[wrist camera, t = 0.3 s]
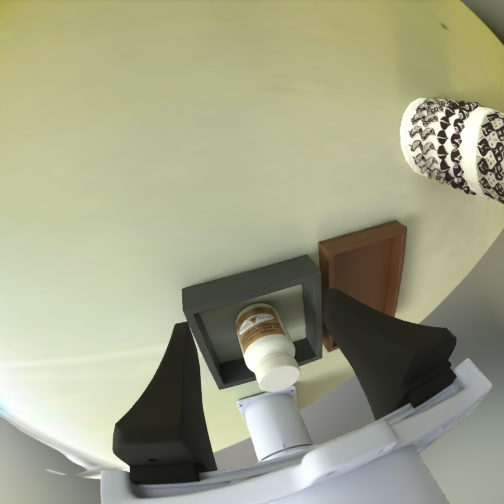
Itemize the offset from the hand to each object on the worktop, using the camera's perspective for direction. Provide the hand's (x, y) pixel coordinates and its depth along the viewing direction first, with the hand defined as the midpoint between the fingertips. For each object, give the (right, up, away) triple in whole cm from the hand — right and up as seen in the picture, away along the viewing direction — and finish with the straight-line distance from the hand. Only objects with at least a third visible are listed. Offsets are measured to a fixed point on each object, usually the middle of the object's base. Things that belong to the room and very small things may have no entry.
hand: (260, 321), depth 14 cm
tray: (+11, 0, +14) cm, 18 cm away
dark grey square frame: (0, -3, +13) cm, 13 cm away
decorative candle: (+17, +15, +9) cm, 25 cm away
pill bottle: (0, -3, +13) cm, 13 cm away
